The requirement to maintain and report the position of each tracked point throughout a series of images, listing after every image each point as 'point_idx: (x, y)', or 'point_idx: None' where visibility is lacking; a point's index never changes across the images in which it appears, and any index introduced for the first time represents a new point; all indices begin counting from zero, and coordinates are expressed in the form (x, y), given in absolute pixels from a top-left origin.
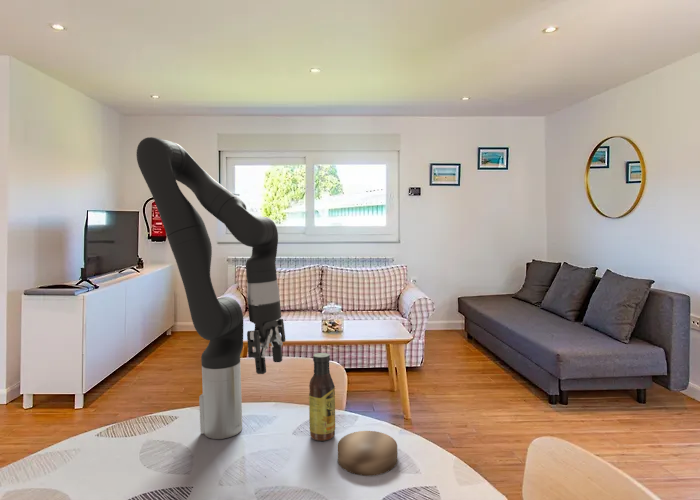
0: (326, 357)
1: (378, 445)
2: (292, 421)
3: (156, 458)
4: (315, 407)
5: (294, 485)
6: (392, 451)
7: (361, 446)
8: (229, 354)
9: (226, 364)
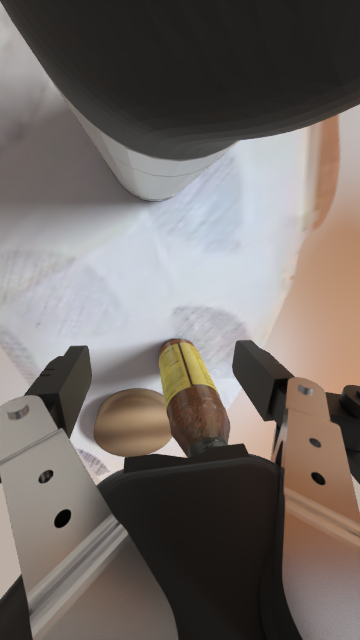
0: None
1: (139, 440)
2: (219, 289)
3: None
4: (164, 390)
5: (40, 368)
6: (129, 454)
7: (129, 427)
8: (89, 53)
9: (64, 91)
